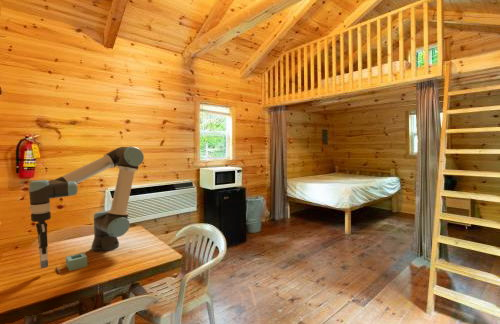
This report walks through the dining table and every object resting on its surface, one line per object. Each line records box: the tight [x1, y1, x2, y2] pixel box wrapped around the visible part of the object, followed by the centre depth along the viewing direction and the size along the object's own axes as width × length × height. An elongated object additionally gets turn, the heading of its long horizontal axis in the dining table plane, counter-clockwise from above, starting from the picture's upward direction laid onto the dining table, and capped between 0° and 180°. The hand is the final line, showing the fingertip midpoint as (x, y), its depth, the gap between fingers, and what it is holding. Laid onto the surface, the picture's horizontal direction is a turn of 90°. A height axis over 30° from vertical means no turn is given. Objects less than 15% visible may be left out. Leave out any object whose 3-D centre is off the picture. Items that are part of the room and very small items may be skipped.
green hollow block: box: [65, 252, 88, 272], centre depth 138 cm, size 8×8×5 cm
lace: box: [55, 266, 62, 274], centre depth 133 cm, size 8×1×1 cm, turn 45°
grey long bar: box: [37, 235, 49, 269], centre depth 129 cm, size 3×3×17 cm
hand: (43, 258), depth 129 cm, fingers closed on grey long bar, 3 cm apart
